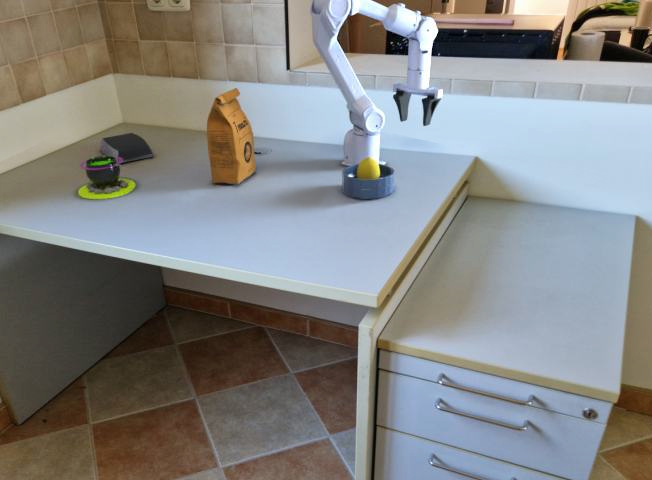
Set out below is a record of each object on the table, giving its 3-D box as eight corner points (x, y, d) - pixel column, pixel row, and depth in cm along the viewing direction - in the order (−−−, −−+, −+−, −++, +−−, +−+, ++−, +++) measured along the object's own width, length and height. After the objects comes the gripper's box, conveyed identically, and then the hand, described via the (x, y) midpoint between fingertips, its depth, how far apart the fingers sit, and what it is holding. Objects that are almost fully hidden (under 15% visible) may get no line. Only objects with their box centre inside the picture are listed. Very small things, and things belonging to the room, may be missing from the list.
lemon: (381, 186, 149) (382, 153, 144) (376, 194, 144) (377, 161, 140) (359, 184, 150) (360, 152, 146) (354, 192, 146) (354, 159, 141)
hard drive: (114, 166, 175) (111, 152, 173) (97, 150, 190) (94, 137, 187) (156, 157, 180) (154, 143, 178) (137, 142, 194) (135, 130, 192)
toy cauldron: (146, 182, 162) (139, 141, 156) (111, 202, 151) (102, 158, 145) (102, 177, 167) (93, 137, 161) (66, 195, 156) (54, 153, 150)
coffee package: (262, 173, 163) (256, 87, 150) (239, 188, 154) (230, 98, 141) (231, 169, 167) (222, 85, 154) (206, 184, 158) (195, 96, 146)
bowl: (332, 192, 148) (331, 172, 145) (365, 179, 155) (365, 159, 152) (370, 204, 140) (371, 183, 138) (403, 189, 147) (404, 169, 144)
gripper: (451, 68, 152) (446, 123, 159) (405, 63, 161) (402, 115, 169) (434, 73, 148) (430, 129, 156) (388, 67, 157) (386, 121, 165)
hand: (414, 122), depth 162 cm, fingers open, 7 cm apart
